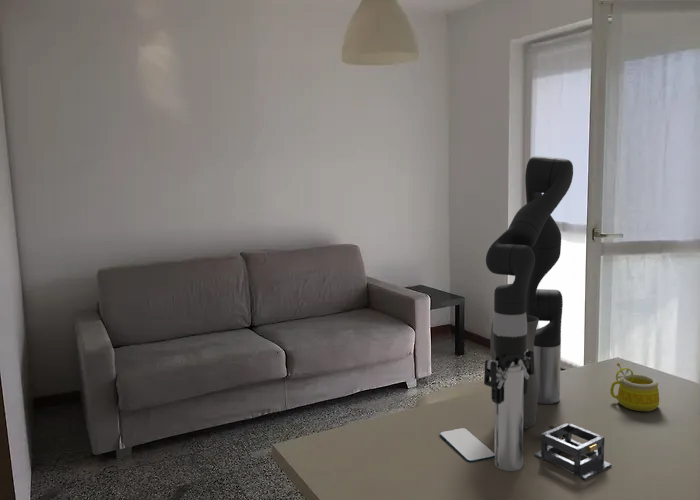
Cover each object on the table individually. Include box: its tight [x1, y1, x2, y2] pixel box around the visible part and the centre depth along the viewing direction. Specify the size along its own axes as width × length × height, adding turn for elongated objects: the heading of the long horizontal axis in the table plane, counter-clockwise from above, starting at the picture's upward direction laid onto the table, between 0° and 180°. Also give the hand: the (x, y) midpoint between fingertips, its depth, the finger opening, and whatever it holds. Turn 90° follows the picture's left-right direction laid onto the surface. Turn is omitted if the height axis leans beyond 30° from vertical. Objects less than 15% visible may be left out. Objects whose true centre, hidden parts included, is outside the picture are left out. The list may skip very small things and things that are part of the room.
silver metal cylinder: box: [494, 364, 524, 472], centre depth 139 cm, size 6×6×25 cm
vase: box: [489, 315, 539, 430], centre depth 159 cm, size 12×12×30 cm
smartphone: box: [439, 427, 495, 463], centre depth 151 cm, size 8×1×16 cm
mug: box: [609, 362, 660, 412], centre depth 170 cm, size 13×11×12 cm
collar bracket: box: [533, 422, 613, 481], centre depth 141 cm, size 14×10×6 cm
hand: (509, 398), depth 138 cm, fingers open, 8 cm apart
